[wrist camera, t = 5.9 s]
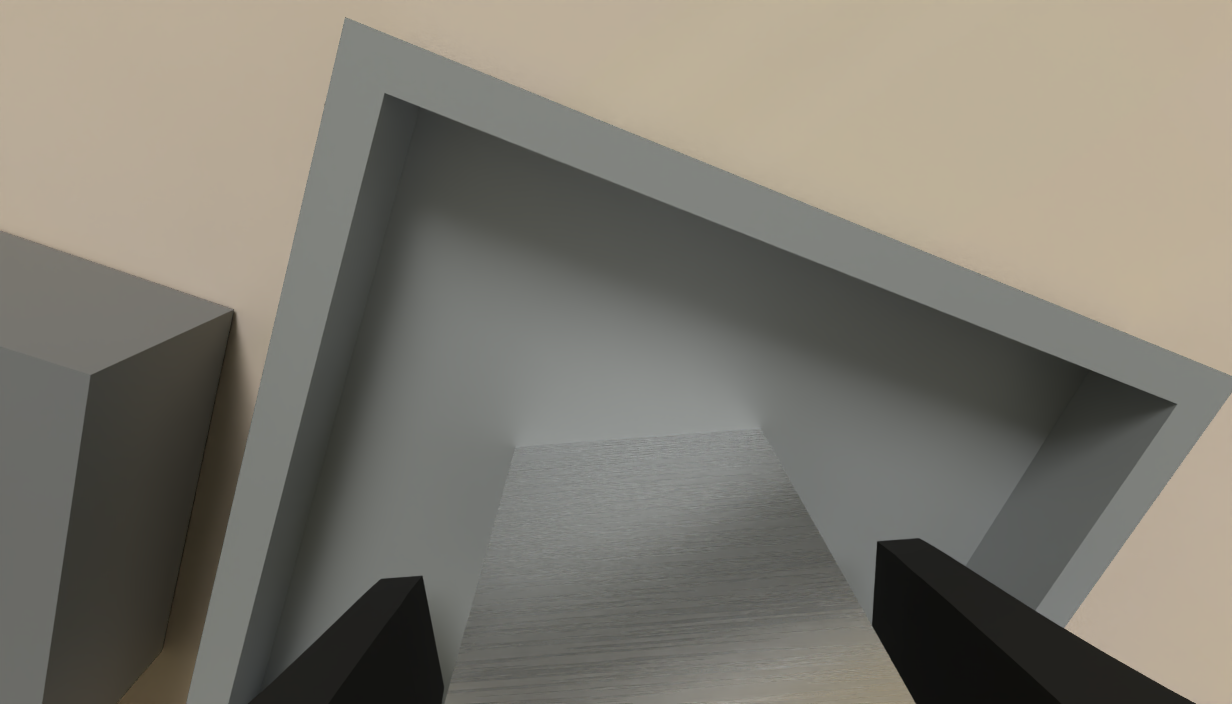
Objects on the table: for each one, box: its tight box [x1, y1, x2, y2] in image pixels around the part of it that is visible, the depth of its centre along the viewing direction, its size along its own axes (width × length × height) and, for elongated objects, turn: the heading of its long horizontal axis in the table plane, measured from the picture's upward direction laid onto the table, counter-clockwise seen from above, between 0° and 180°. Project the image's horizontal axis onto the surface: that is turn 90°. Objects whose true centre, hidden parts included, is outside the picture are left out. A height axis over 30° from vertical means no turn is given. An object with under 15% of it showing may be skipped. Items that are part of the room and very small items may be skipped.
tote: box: [186, 17, 1232, 704], centre depth 11 cm, size 12×12×2 cm
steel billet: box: [444, 428, 916, 704], centre depth 8 cm, size 4×4×6 cm
